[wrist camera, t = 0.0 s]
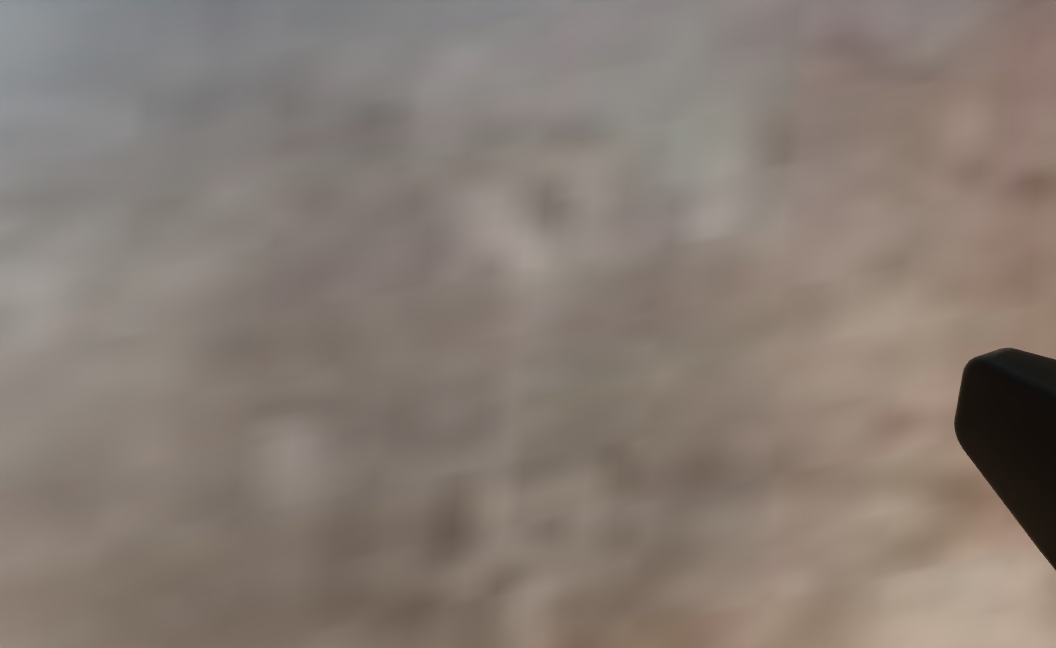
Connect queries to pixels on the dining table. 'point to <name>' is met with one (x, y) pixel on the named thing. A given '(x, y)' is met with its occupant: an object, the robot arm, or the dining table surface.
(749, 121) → the dining table surface
